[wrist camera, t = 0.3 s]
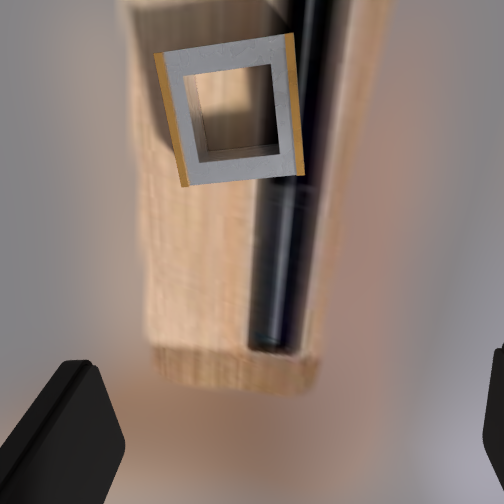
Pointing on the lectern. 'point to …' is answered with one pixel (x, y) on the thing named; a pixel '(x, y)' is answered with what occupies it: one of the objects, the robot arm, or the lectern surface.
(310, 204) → the lectern surface
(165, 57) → the block
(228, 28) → the lectern surface
